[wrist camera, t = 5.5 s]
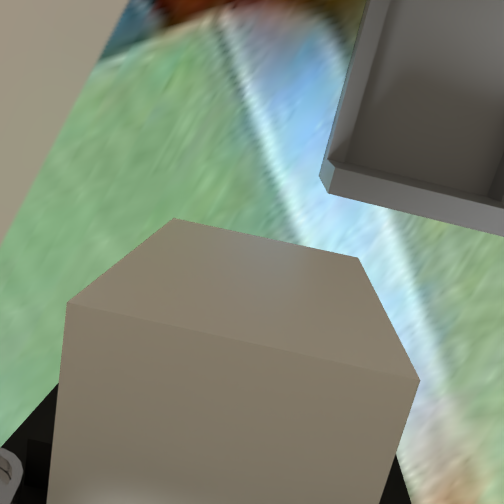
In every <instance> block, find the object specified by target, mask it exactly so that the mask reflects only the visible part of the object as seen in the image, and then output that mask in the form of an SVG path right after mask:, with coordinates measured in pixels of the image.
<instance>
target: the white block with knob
mask: <svg viewBox="0 0 504 504" xmlns="http://www.w3.org/2000/svg"><path fill="white" fill-rule="evenodd" d="M419 382H420V379H419V377H418V375H417V373H416V371H415V369H414V367H413V365H412V363H411V361H410V359H409V357H408V355H407V353H406V351H405V349H404V347H403V345H402V343H401V341H400V339H399V337H398V336H397V334H396V332H395V330H394V328H393V326H392V324H391V322H390V320H389V318H388V316H387V314H386V312H385V310H384V308H383V306H382V304H381V302H380V300H379V298H378V296H377V294H376V292H375V290H374V288H373V286H372V284H371V282H370V280H369V278H368V276H367V274H366V272H365V270H364V268H363V266H362V264H361V263H360V261H359V259H358V258H357V257H352V256H347V255H343V254H338V253H333V252H329V251H324V250H320V249H315V248H310V247H306V246H301V245H296V244H292V243H287V242H282V241H278V240H273V239H268V238H264V237H259V236H255V235H250V234H245V233H241V232H236V231H231V230H227V229H222V228H217V227H213V226H208V225H203V224H199V223H194V222H189V221H185V220H180V219H176V218H173V219H172V220H170V221H169V222H168V223H167V224H165V225H164V226H163V227H162V228H160V229H159V230H158V231H157V232H155V233H154V234H153V235H151V236H150V237H149V238H148V239H146V240H145V241H144V242H143V243H141V244H140V245H139V246H138V247H136V248H135V249H134V250H133V251H131V252H130V253H129V254H127V255H126V256H125V257H124V258H122V259H121V260H120V261H119V262H117V263H116V264H115V265H114V266H112V267H111V268H110V269H109V270H107V271H106V272H105V273H103V274H102V275H101V276H100V277H98V278H97V279H96V280H95V281H93V282H92V283H91V284H90V285H88V286H87V287H86V288H84V289H83V290H82V291H81V292H79V293H78V294H77V295H76V296H74V297H73V298H72V299H71V300H69V301H68V302H67V307H66V317H65V327H64V337H63V346H62V356H61V366H60V376H59V386H58V396H57V405H56V415H55V425H54V435H53V445H52V454H51V464H50V474H49V484H48V494H47V503H46V504H379V502H380V499H381V496H382V493H383V490H384V487H385V484H386V481H387V478H388V475H389V472H390V469H391V466H392V463H393V460H394V457H395V454H396V451H397V448H398V445H399V442H400V439H401V436H402V433H403V430H404V427H405V424H406V421H407V418H408V415H409V412H410V409H411V406H412V403H413V400H414V397H415V394H416V391H417V388H418V385H419Z"/></svg>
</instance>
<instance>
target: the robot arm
mask: <svg viewBox="0 0 504 504" xmlns="http://www.w3.org/2000/svg"><path fill="white" fill-rule="evenodd" d="M58 386H59V383H58V384H57V385H56V386H55V387H54V388H53V390H52V391H51V392H50V393H49V394H48V395H47V396H46V397H45V399H44V400H43V401H42V402H41V403H40V404H39V405H38V406H37V407H36V409H35V410H34V411H33V412H32V413H31V414H30V415H29V416H28V418H27V419H26V420H25V421H24V422H23V423H22V424H21V425H20V426H19V428H18V429H17V430H16V431H15V432H14V433H13V434H12V435H11V437H10V438H9V439H8V440H7V441H6V442H5V443H4V444H3V445H2V447H1V448H0V504H46V503H47V494H48V484H49V474H50V464H51V454H52V445H53V435H54V425H55V415H56V405H57V396H58ZM379 504H411V501H410V498H409V494H408V491H407V488H406V485H405V482H404V479H403V475H402V472H401V469H400V466H399V463H398V460H397V456H396V454H395V457H394V460H393V463H392V466H391V469H390V472H389V475H388V478H387V481H386V484H385V487H384V490H383V493H382V496H381V499H380V502H379Z"/></svg>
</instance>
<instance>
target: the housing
mask: <svg viewBox="0 0 504 504" xmlns="http://www.w3.org/2000/svg"><path fill="white" fill-rule="evenodd" d="M319 177H320V179H321V181H322V183H323V185H324V187H325V189H326V191H327V193H329V194H333V195H337V196H341V197H345V198H349V199H353V200H357V201H361V202H365V203H369V204H373V205H377V206H381V207H385V208H389V209H393V210H397V211H402V212H406V213H410V214H414V215H418V216H422V217H426V218H430V219H434V220H438V221H442V222H446V223H450V224H454V225H458V226H462V227H466V228H470V229H474V230H478V231H483V232H487V233H491V234H495V235H499V236H503V237H504V0H367V1H366V5H365V8H364V12H363V16H362V19H361V23H360V27H359V30H358V34H357V38H356V41H355V45H354V49H353V52H352V56H351V60H350V63H349V67H348V71H347V74H346V78H345V82H344V85H343V89H342V93H341V96H340V100H339V104H338V107H337V111H336V115H335V118H334V122H333V125H332V129H331V133H330V136H329V140H328V144H327V147H326V151H325V155H324V158H323V162H322V166H321V169H320V173H319Z"/></svg>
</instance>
